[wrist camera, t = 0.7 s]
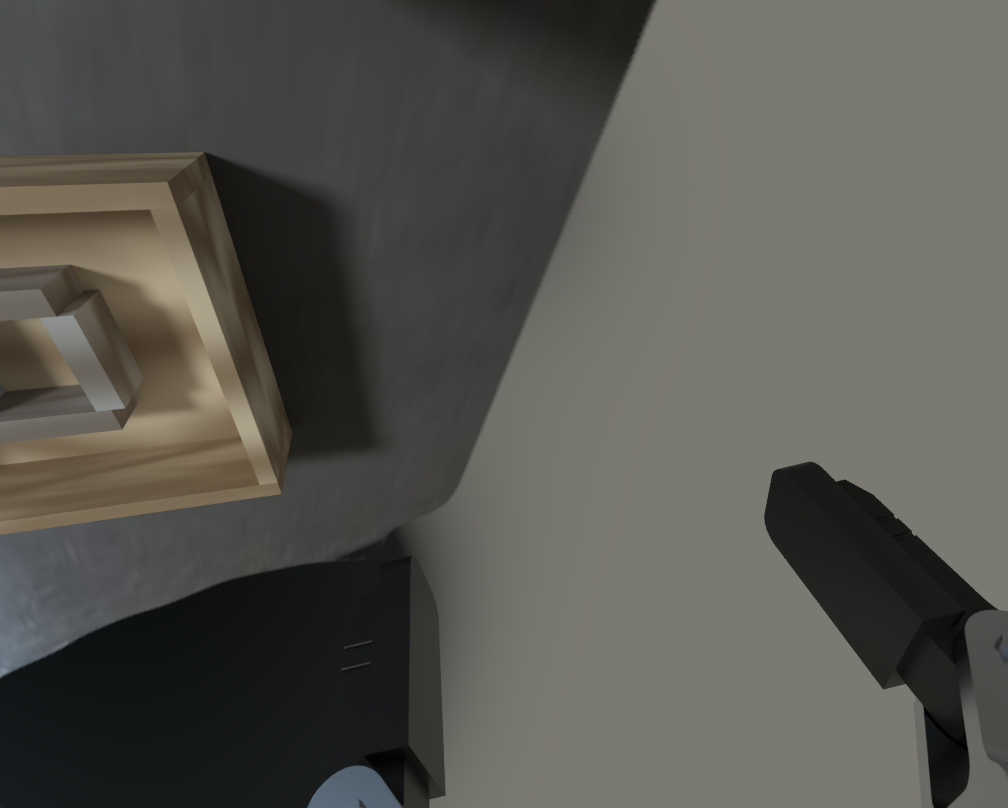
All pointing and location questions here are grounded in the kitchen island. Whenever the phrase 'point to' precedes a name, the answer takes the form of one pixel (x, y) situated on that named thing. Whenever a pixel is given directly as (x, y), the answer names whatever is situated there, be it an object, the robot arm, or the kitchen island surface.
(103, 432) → the walled box
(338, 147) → the kitchen island surface
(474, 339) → the kitchen island surface
